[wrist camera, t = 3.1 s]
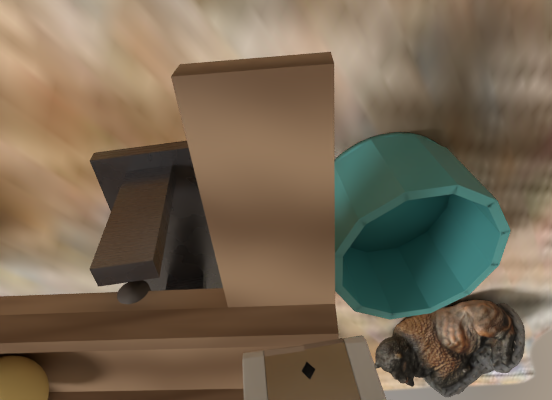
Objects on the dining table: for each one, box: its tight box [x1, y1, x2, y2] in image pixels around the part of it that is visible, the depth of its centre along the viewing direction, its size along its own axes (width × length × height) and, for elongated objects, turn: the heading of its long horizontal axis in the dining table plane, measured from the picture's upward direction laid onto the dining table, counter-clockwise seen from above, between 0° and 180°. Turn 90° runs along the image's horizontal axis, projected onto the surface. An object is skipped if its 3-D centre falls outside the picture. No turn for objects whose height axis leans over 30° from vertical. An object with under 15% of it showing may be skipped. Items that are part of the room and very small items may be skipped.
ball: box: [0, 356, 49, 400], centre depth 20 cm, size 4×4×4 cm
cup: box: [334, 132, 511, 319], centre depth 28 cm, size 11×11×7 cm
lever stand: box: [90, 141, 223, 291], centre depth 27 cm, size 14×7×10 cm, turn 5°
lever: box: [0, 52, 338, 400], centre depth 18 cm, size 19×22×5 cm
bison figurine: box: [374, 300, 525, 397], centre depth 38 cm, size 12×7×10 cm
